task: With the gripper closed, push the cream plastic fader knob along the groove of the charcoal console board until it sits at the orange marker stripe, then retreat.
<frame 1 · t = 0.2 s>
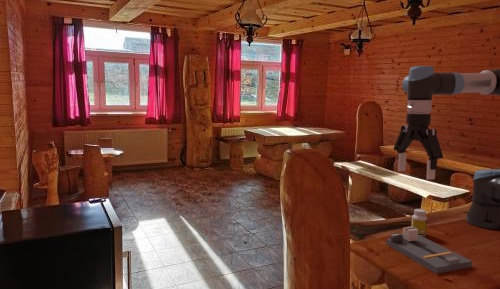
hand: (415, 174, 130), 27 cm above the table, fingers open, 13 cm apart
supplement bottle: (418, 234, 148), on the table
fader knob: (410, 233, 137), point 5 cm above the table, slide at 0.0 cm
console: (426, 254, 130), on the table
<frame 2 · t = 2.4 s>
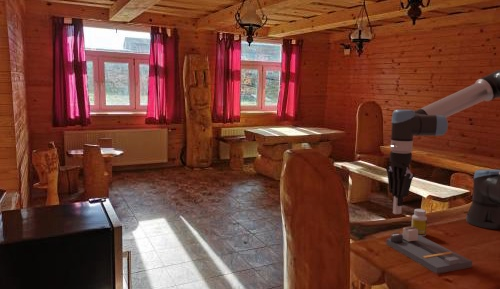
hand: (397, 213, 142), 10 cm above the table, fingers closed
nothing on the table moved.
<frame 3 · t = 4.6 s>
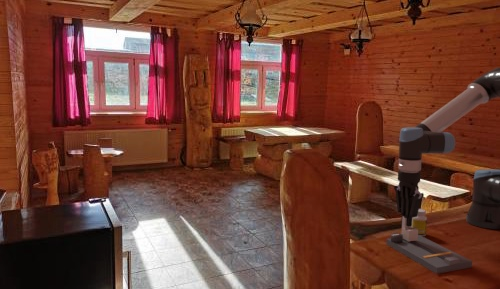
hand: (406, 233, 139), 4 cm above the table, fingers closed
fader knob: (410, 233, 137), point 5 cm above the table, slide at 0.1 cm, touching gripper
everything else where it was.
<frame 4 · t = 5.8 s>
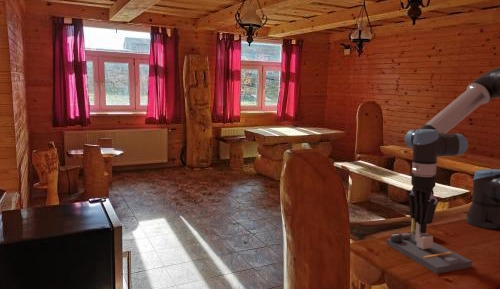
hand: (419, 240, 132), 4 cm above the table, fingers closed
fader knob: (424, 240, 130), point 5 cm above the table, slide at 7.1 cm, touching gripper
everything else where it was.
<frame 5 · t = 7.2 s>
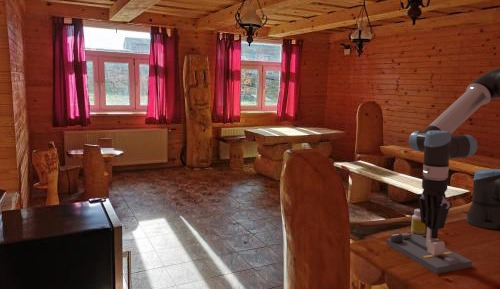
hand: (430, 246, 127), 4 cm above the table, fingers closed
fader knob: (436, 246, 125), point 5 cm above the table, slide at 12.1 cm, touching gripper
everything else where it was.
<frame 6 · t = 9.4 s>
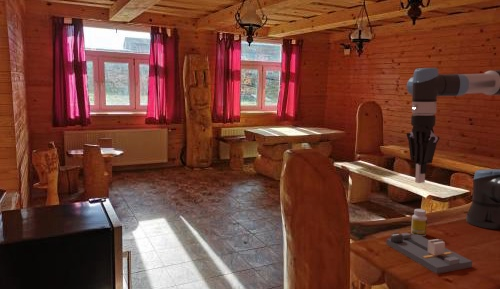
hand: (419, 182, 131), 24 cm above the table, fingers closed
fader knob: (436, 246, 125), point 5 cm above the table, slide at 12.2 cm
everything else where it was.
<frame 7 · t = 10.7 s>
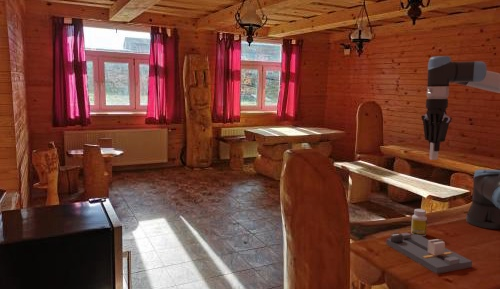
hand: (433, 159, 147), 29 cm above the table, fingers closed
nothing on the table moved.
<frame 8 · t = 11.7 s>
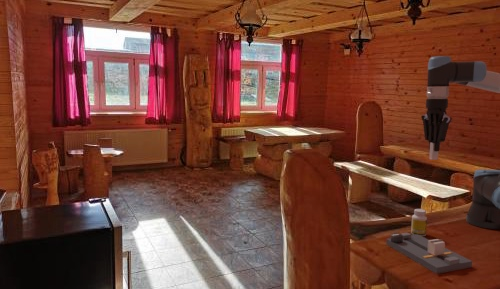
hand: (433, 159, 147), 29 cm above the table, fingers closed
nothing on the table moved.
at the end: fader knob slide at 12.2 cm; the gripper is holding nothing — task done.
